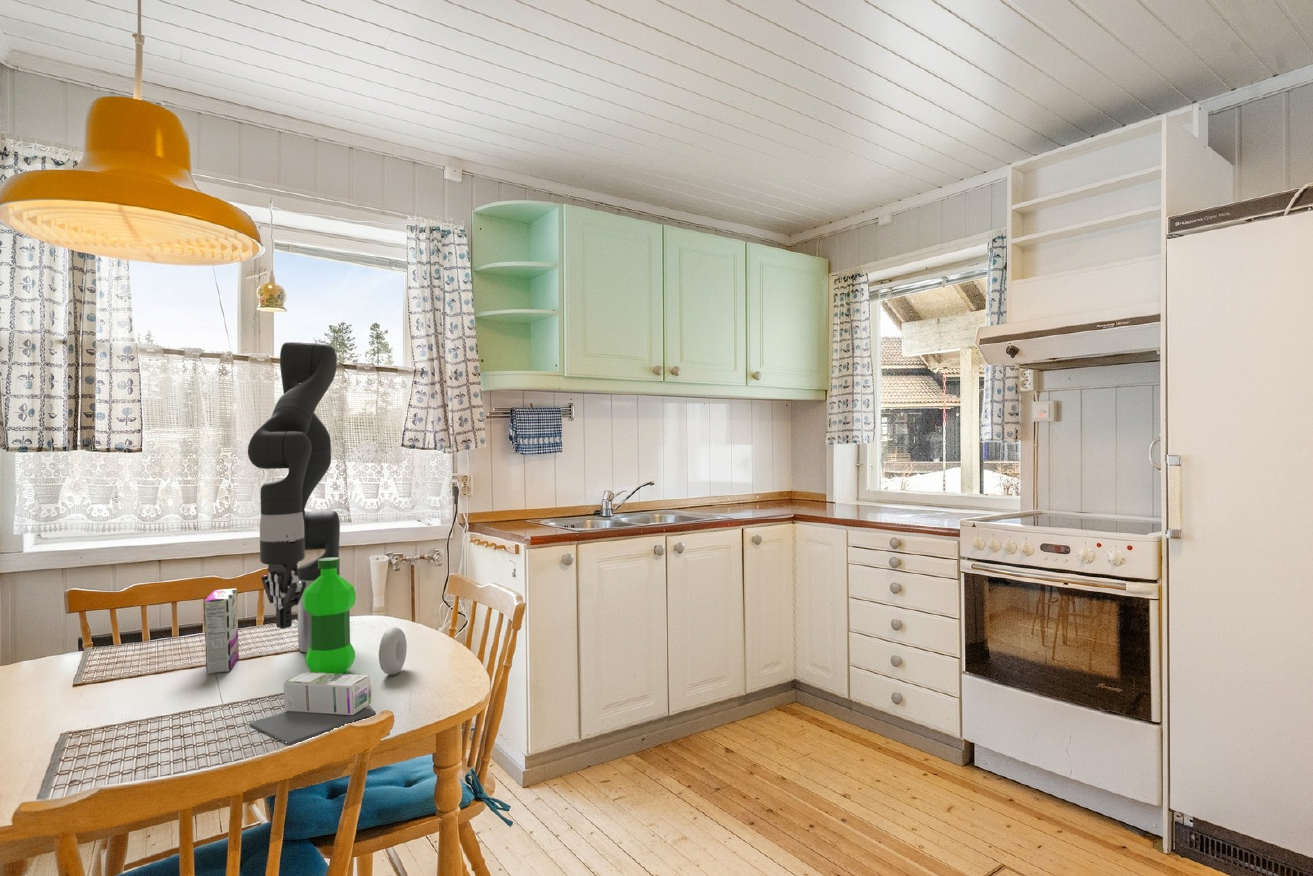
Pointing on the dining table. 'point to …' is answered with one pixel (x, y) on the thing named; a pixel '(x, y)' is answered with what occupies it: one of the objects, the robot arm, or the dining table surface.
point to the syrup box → (327, 693)
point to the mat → (304, 724)
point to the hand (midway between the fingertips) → (284, 627)
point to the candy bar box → (221, 631)
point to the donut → (392, 651)
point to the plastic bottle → (329, 620)
